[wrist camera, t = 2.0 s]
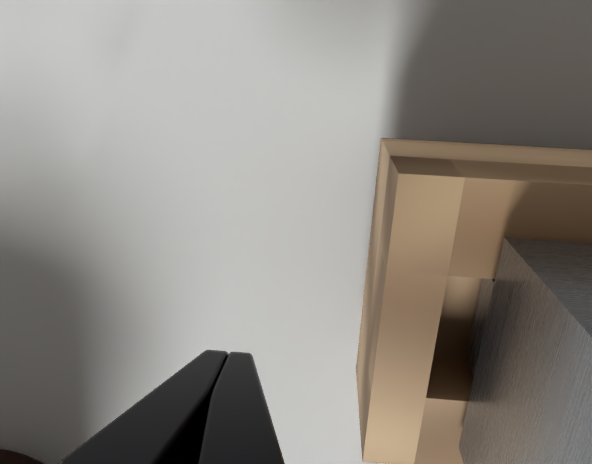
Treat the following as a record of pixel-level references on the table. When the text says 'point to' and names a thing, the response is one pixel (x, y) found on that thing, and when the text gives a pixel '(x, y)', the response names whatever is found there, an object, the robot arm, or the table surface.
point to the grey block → (532, 358)
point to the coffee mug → (15, 458)
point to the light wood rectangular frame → (447, 277)
